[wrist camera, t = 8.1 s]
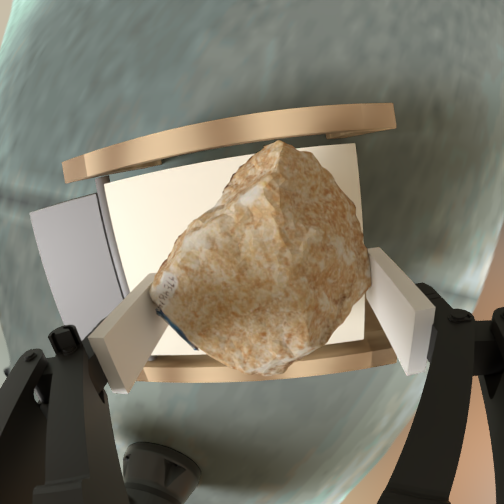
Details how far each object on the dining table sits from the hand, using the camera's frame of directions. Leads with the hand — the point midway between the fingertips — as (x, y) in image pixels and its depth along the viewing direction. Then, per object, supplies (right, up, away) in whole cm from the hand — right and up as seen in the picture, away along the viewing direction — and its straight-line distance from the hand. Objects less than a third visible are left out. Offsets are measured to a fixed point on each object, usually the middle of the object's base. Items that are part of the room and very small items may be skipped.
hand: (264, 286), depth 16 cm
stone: (0, +2, 0) cm, 2 cm away
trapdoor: (-5, +2, +9) cm, 10 cm away
